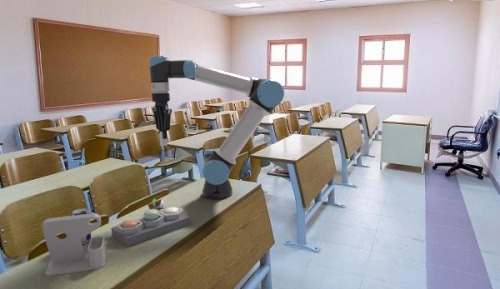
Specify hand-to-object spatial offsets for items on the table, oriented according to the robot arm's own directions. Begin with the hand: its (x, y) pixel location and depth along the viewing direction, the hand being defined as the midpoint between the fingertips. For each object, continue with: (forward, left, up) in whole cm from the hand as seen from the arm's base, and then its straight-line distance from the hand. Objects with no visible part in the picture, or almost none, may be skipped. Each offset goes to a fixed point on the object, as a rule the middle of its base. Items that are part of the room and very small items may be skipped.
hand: (164, 145), depth 161 cm
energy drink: (+41, +9, -29) cm, 51 cm away
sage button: (+18, +18, -24) cm, 35 cm away
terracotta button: (+27, +18, -25) cm, 41 cm away
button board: (+18, +18, -28) cm, 38 cm away
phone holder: (+48, +24, -29) cm, 61 cm away
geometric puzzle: (+8, +4, -29) cm, 30 cm away
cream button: (+9, +18, -25) cm, 32 cm away
